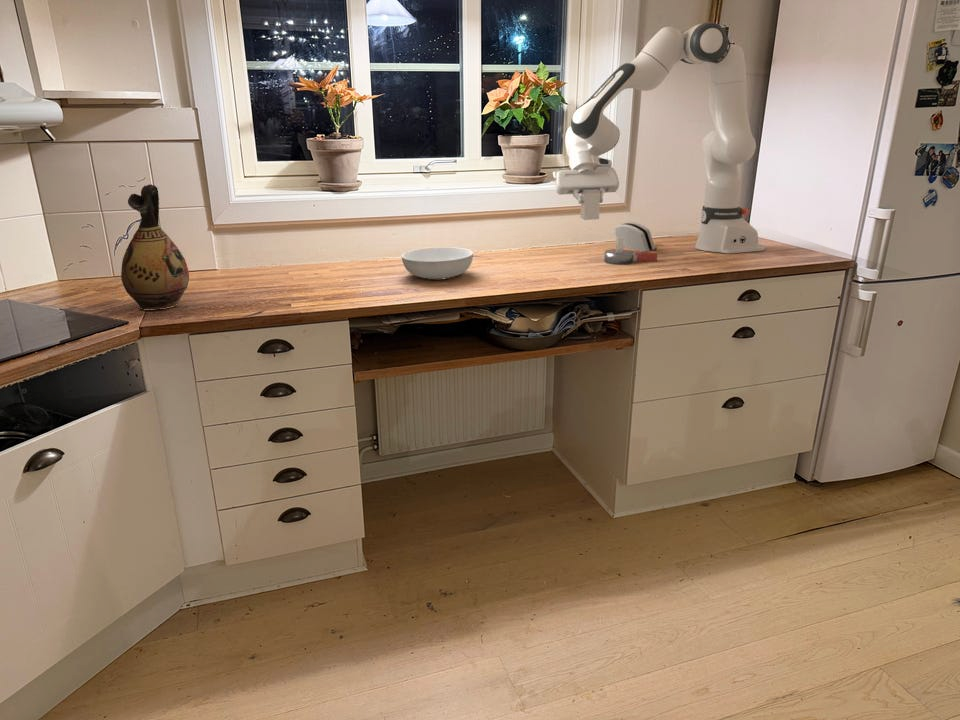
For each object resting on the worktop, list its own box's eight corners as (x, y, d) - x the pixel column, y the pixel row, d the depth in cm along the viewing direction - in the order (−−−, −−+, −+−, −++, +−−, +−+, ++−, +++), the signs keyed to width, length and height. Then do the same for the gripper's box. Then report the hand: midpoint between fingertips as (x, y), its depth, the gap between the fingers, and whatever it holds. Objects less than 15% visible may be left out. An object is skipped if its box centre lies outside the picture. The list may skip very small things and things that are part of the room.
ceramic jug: (182, 313, 167) (160, 188, 157) (117, 315, 166) (91, 190, 156) (203, 295, 183) (185, 181, 173) (144, 297, 182) (122, 182, 171)
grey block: (595, 217, 221) (595, 188, 217) (599, 219, 216) (600, 190, 213) (580, 217, 220) (581, 189, 217) (584, 219, 216) (585, 190, 212)
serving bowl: (432, 265, 214) (431, 244, 212) (487, 273, 203) (487, 250, 200) (387, 279, 198) (386, 255, 196) (444, 288, 187) (443, 263, 184)
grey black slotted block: (658, 251, 231) (653, 223, 226) (648, 257, 229) (641, 229, 225) (628, 243, 245) (622, 217, 240) (618, 248, 243) (611, 222, 239)
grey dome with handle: (650, 257, 221) (651, 234, 219) (660, 262, 213) (662, 239, 210) (600, 259, 220) (601, 235, 217) (608, 265, 211) (610, 240, 209)
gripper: (553, 162, 217) (560, 197, 212) (616, 160, 219) (624, 194, 214) (550, 175, 223) (557, 209, 218) (611, 173, 225) (619, 206, 219)
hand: (590, 202), depth 216 cm, fingers closed on grey block, 5 cm apart
